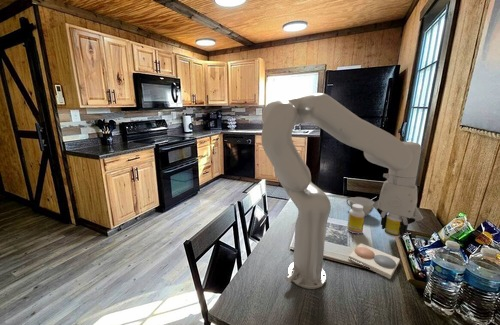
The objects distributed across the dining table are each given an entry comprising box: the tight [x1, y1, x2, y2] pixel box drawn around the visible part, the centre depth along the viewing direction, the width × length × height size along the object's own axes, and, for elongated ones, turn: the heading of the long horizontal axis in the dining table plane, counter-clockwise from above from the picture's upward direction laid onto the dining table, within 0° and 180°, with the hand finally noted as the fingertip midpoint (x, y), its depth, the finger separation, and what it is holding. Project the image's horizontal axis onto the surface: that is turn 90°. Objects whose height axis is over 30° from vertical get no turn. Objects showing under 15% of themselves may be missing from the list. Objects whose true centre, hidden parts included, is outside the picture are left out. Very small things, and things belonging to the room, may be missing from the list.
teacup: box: [345, 196, 375, 217], centre depth 122 cm, size 15×12×8 cm
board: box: [348, 242, 401, 280], centre depth 83 cm, size 12×14×2 cm
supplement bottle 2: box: [384, 213, 403, 238], centre depth 75 cm, size 5×5×8 cm
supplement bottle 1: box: [346, 204, 366, 235], centre depth 103 cm, size 7×7×13 cm
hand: (392, 230), depth 76 cm, fingers closed on supplement bottle 2, 4 cm apart
